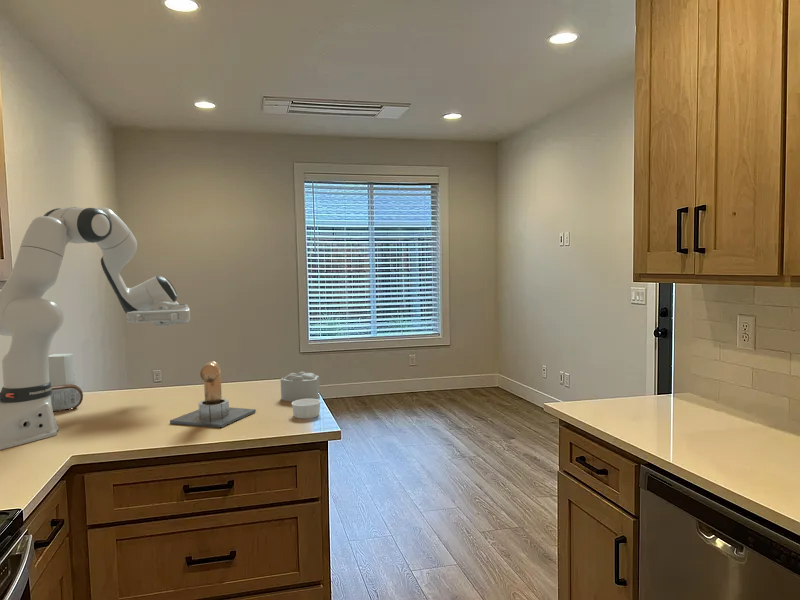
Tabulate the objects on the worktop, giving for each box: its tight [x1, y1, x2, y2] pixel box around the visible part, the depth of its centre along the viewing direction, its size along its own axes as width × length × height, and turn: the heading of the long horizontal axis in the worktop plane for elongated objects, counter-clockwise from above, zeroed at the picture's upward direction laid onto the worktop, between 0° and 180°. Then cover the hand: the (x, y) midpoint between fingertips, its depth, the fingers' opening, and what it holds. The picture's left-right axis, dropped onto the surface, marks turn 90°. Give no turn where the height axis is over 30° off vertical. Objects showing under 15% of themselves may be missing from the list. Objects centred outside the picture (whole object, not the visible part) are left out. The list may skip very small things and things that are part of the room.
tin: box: [51, 384, 84, 412], centre depth 194 cm, size 15×3×8 cm, turn 123°
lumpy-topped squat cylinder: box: [280, 371, 321, 403], centre depth 204 cm, size 10×13×9 cm
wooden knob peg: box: [199, 361, 223, 405], centre depth 178 cm, size 10×5×16 cm, turn 11°
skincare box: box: [48, 353, 78, 386], centre depth 214 cm, size 8×7×16 cm
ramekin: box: [290, 398, 321, 420], centre depth 181 cm, size 9×9×4 cm
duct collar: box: [169, 398, 257, 428], centre depth 181 cm, size 18×18×5 cm
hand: (154, 318), depth 193 cm, fingers open, 8 cm apart
